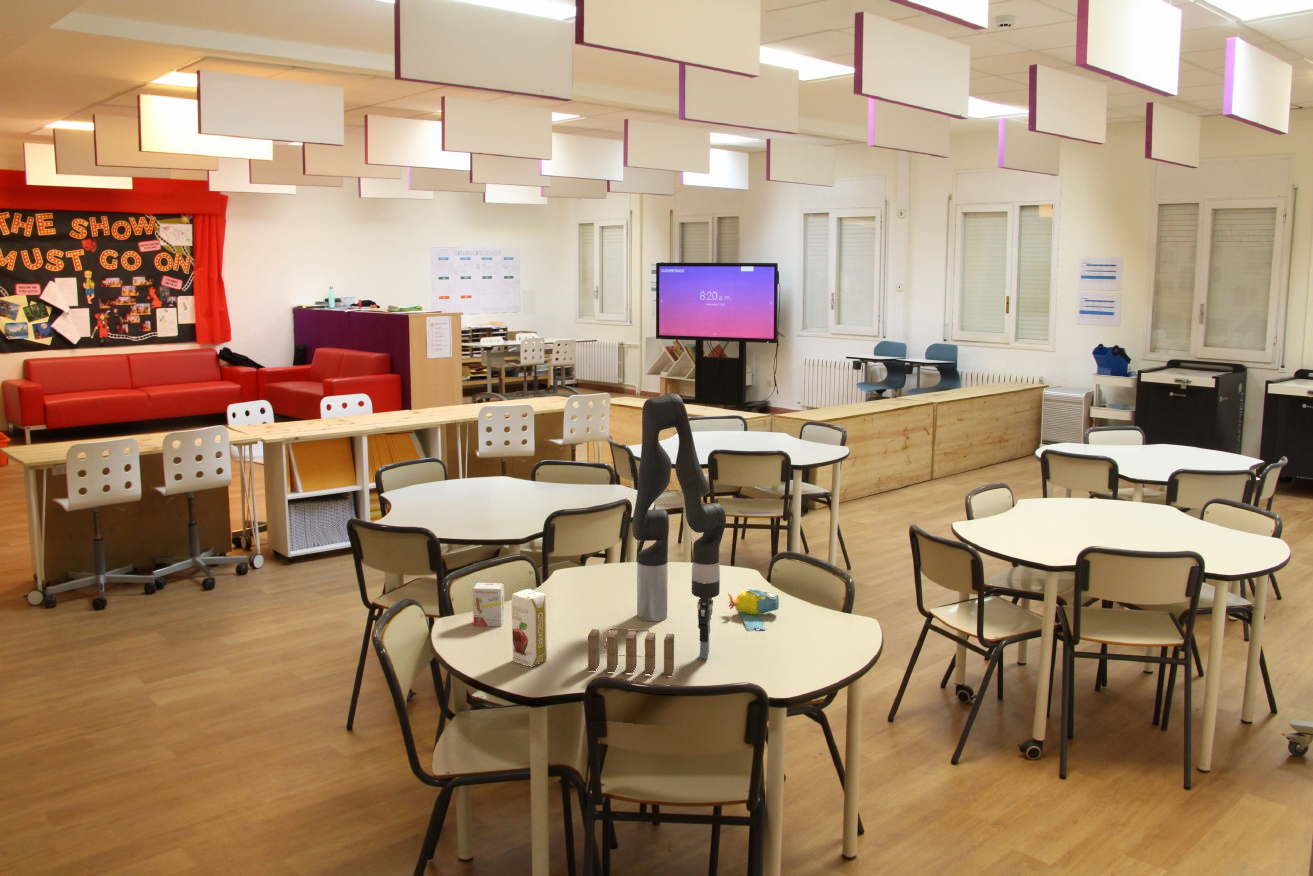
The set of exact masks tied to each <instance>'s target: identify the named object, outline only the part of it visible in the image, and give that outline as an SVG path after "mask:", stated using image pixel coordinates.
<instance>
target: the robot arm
mask: <svg viewBox="0 0 1313 876" xmlns="http://www.w3.org/2000/svg"><path fill="white" fill-rule="evenodd" d="M641 410H642V411H641V412H642V413H641V432H642V434H641V452H640V458H639V459H640V461H639V465H638V466H639V467H638V475H637V477H638V479H637V494H636V498H635V504H634V510H633V517H632V522H631V523H632V524H631V533H632V536H633V538H634V539H635V540H636V541H641V542H646V541H647V542H648V541H649V542H651V541H654V543H652V544H651V545H650V546H648V547H646V548H644V549H641V550H639V552H638V553H637V555H636V556H637V557H636V563H637V564H636V581H637V582H636V617H637V619H639V620H641V621H644V622H645V621H646V622H658V621H663V620H666V619H667V618H668V578H669V577H668V569H669V567H668V563H669V561H668V560H669V559H668V558H669V557H668V556H669V555H668V554H669V537H670V535H669V533H670V517H669V514H668V512H667V510H666V509H650V508H651V506H652V504H654V502H656V501H657V499H658V498H659V497H661V495H662V494H663V493H664V492H665V491H666V490H667V488H668V486H669V485H670V481H671V476H672V467H673V466H672V465H673V464H672V460H671V457H670V456H669V454H668V453H667V451H666V450H665V449H664V448H663V446H662V445H661V443H660V440H659V437H660V432H661V431H664V430H667V429H669V430H670V429H671V428H672V429H673V428H675V430H676V432H677V436H678V448H677V454H676V458H675V459H676V460H675V475H676V478H677V481H678V484H679V487H680V489H681V492H682V494H683V500H684V509H685V510H684V511H685V517H686V522H687V525H688V526H689V527H690V529H691V530H692V531H693V532H695V533H698V534H699V533H701V534H702V535H701V536H700V537H699V538H697V539H696V540H695V541H694V542H693V544H692V545H693V547H692V565H691V595H693V596H694V597H696V598H698V601H697V605H696V607H697V619H698V623H697V624H698V625H697V627H698V629H699V641H701V642H707V641H708V628H709V620H710V621H711V620H712V614H713V606H714V599H713V598H715V597H718V596H719V595H720V587H721V585H720V583H721V582H720V581H721V578H720V577H721V572H720V571H721V568H720V546H721V543H722V539H723V537H724V536H723V535H724V533H725V532H724V531H725V529H726V524H727V514H726V511H725V509H724V507H723V505H721V504H720V503H715V502H712V503H711V502H710V503H707V504H703V503H702V498H703V497H705V496H706V495H708V494H709V492H710V487H709V484H708V482H707V479H706V476H705V475H704V472H703V469H702V466H701V464H700V460H699V458H698V454H697V450H696V446H695V440H694V436H693V433H692V428H691V424H690V420H689V416H688V415H689V414H688V412H687V408H686V405H685V403H684V401H683V399H682V397H681V396H680V395H679V394H677V393H674V392H673V393H666V394H662V395H658V396H654V397H651V398H648V399H646V400H645V402H644V403H643V405H642V409H641ZM701 622H706V624H701ZM710 633H711V627H710V628H709V635H710Z"/></svg>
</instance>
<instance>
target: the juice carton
mask: <svg viewBox="0 0 1313 876" xmlns="http://www.w3.org/2000/svg"><path fill="white" fill-rule="evenodd" d="M511 624H512V625H511V629H512V631H511V632H512V633H511V634H512V661H513V662H514V661H516V662H519V663H522V664H525V665H527V666H533V665H536V664H538V663H541V662H543V663H545V662H547V661H548V660H547V659H548V643H547V642H548V641H547V640H548V637H547V635H548V634H547V633H548V631H547V629H548V628H547V626H548V625H547V593H544V592H537V591H535V590H533V589H531V588H527V589H522V590H519V591H517V592H514V593H511ZM546 660H547V661H546ZM544 661H545V662H544ZM516 662H515V663H516ZM519 663H518V664H519ZM522 664H521V665H522ZM541 664H542V663H541ZM525 665H524V666H525ZM538 665H539V664H538ZM527 666H526V667H527ZM536 666H537V665H536ZM533 667H534V666H533Z"/></svg>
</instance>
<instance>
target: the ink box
mask: <svg viewBox="0 0 1313 876" xmlns="http://www.w3.org/2000/svg"><path fill="white" fill-rule="evenodd" d="M472 608H473V609H472V610H473V611H472V613H473V615H472V616H473V618H472V620H473V627H502V626H503V625H504V622H505V584H503V583H500V582H499V583H498V582H496V583H494V582H476V584H475V585H474V586H473V588H472Z"/></svg>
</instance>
